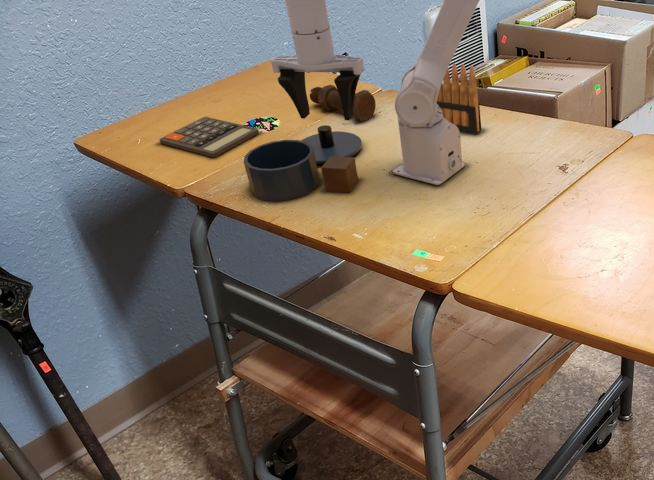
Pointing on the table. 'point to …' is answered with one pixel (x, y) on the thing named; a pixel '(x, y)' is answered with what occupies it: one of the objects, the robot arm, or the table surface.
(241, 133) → the calculator
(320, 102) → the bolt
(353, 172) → the block
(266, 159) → the pot
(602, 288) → the table surface
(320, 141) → the lid
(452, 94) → the ammunition clip
